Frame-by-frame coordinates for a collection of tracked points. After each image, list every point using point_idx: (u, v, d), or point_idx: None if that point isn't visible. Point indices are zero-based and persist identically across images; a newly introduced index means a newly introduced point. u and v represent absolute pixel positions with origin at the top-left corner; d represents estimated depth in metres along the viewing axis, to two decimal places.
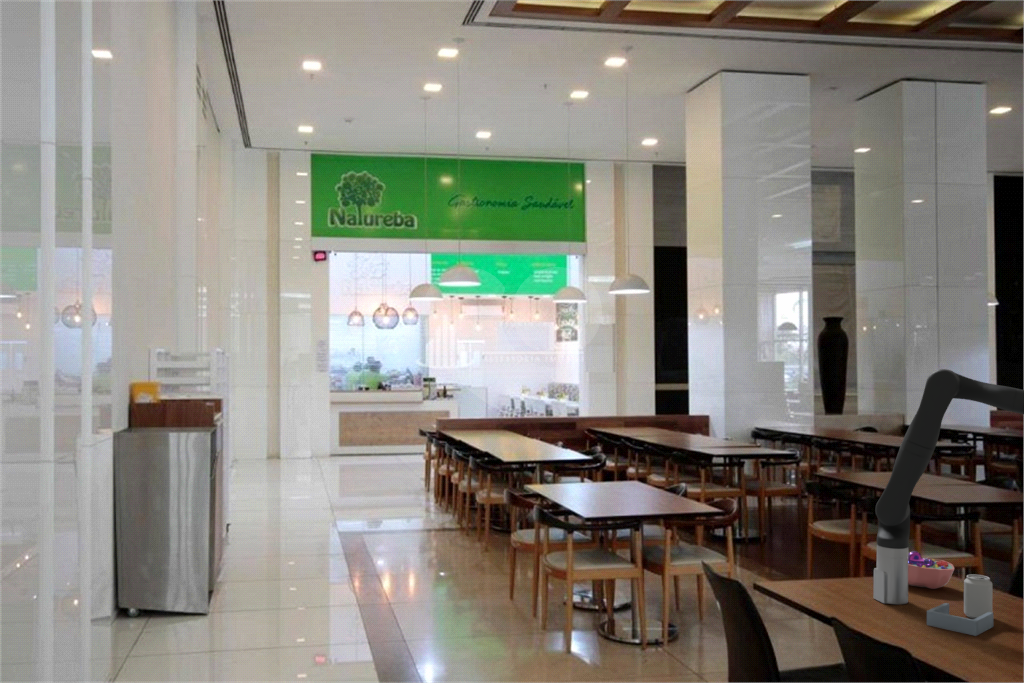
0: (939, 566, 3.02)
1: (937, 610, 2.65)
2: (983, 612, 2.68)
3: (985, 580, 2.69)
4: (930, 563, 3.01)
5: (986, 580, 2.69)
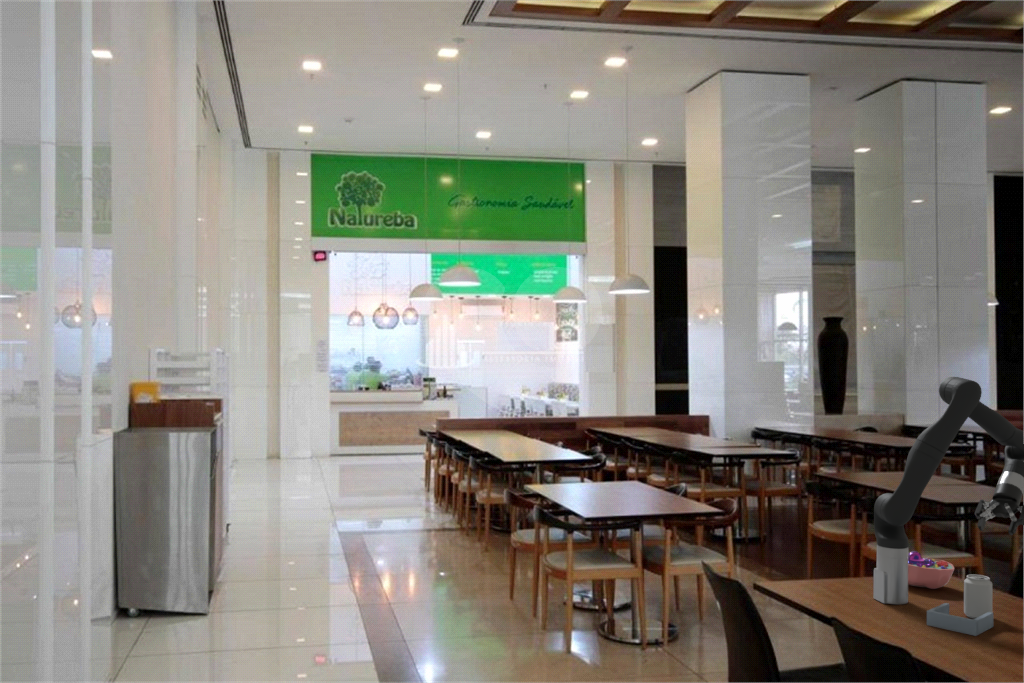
0: (939, 566, 3.02)
1: (937, 610, 2.65)
2: (983, 612, 2.68)
3: (985, 580, 2.69)
4: (930, 563, 3.01)
5: (986, 580, 2.69)
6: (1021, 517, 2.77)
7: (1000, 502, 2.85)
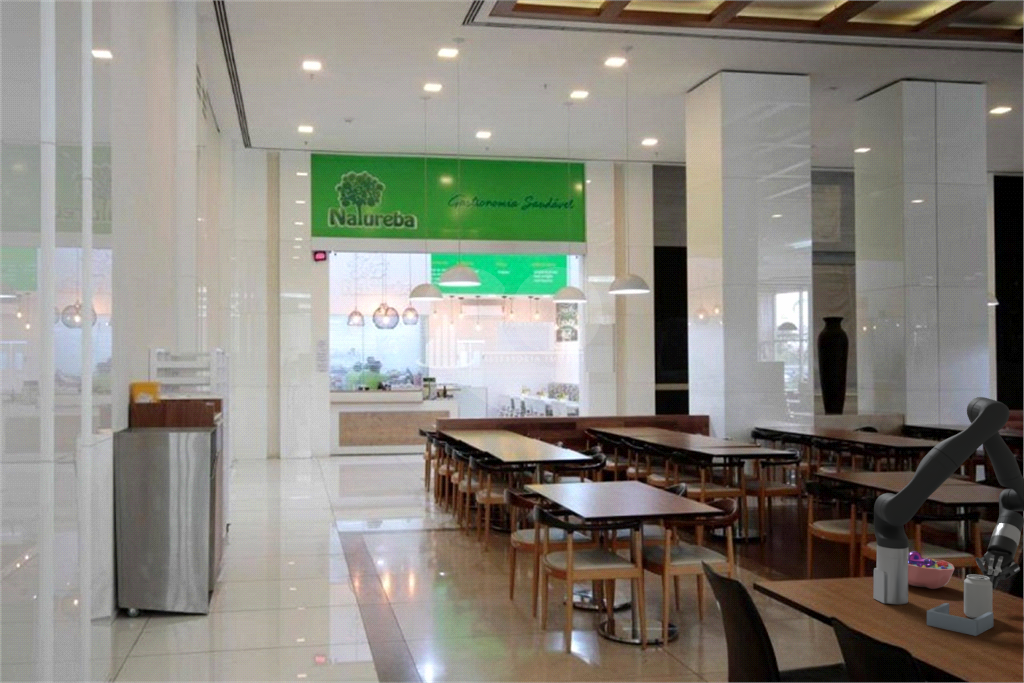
0: (939, 566, 3.02)
1: (937, 610, 2.65)
2: (983, 612, 2.68)
3: (985, 580, 2.69)
4: (930, 563, 3.01)
5: (986, 580, 2.69)
6: (1003, 572, 2.78)
7: (995, 554, 2.83)
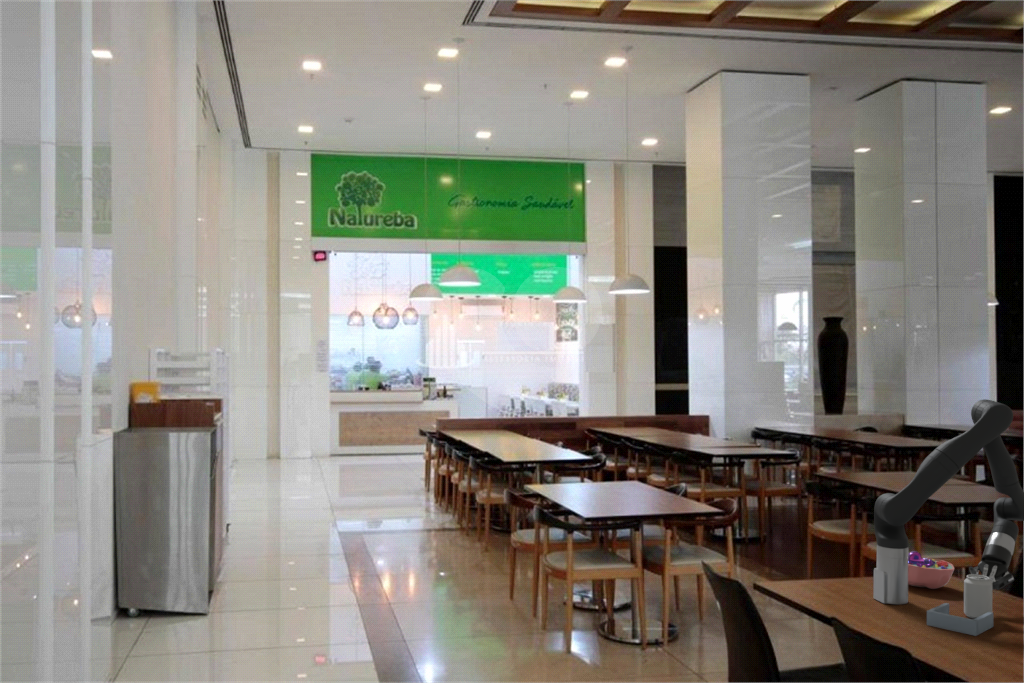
0: (939, 566, 3.02)
1: (937, 610, 2.65)
2: (983, 612, 2.68)
3: (985, 580, 2.69)
4: (930, 563, 3.01)
5: (986, 580, 2.69)
6: (997, 582, 2.75)
7: (989, 564, 2.80)
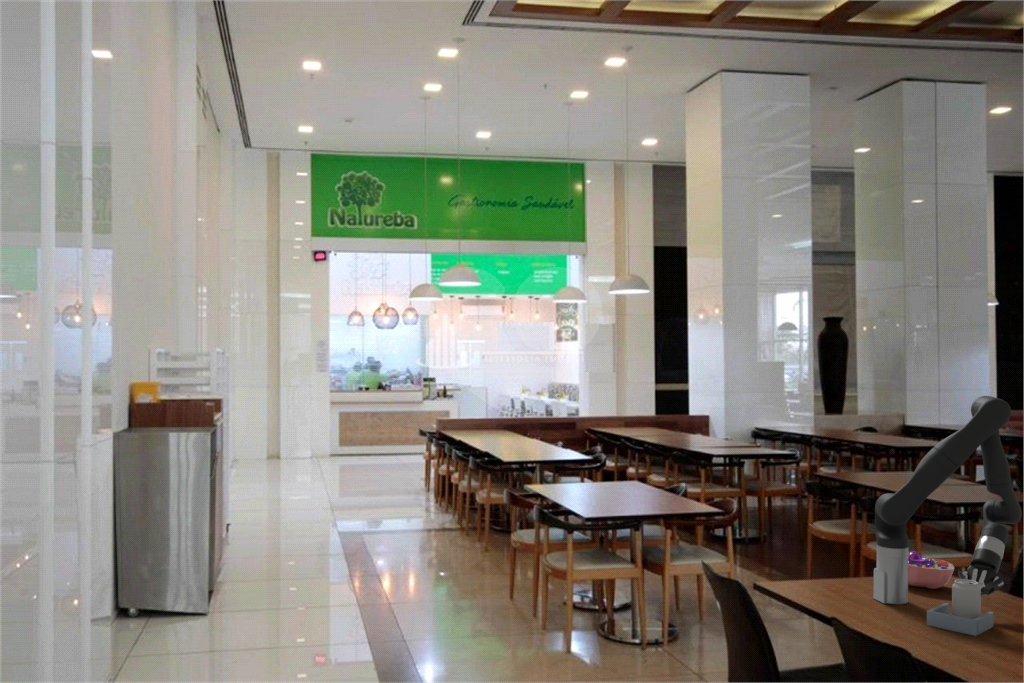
0: (939, 566, 3.02)
1: (937, 610, 2.65)
2: (970, 618, 2.62)
3: (972, 585, 2.63)
4: (930, 563, 3.01)
5: (974, 585, 2.63)
6: (986, 587, 2.68)
7: (978, 569, 2.74)
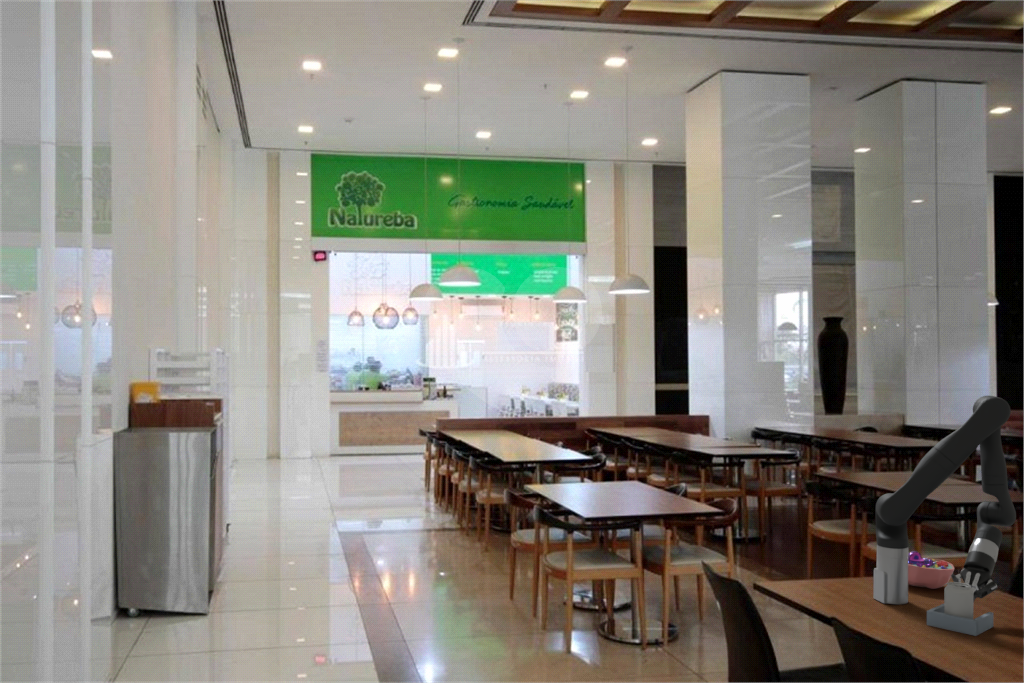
0: (939, 566, 3.02)
1: (937, 610, 2.65)
2: None
3: (964, 588, 2.59)
4: (930, 563, 3.01)
5: (966, 588, 2.59)
6: (979, 590, 2.65)
7: (972, 571, 2.70)
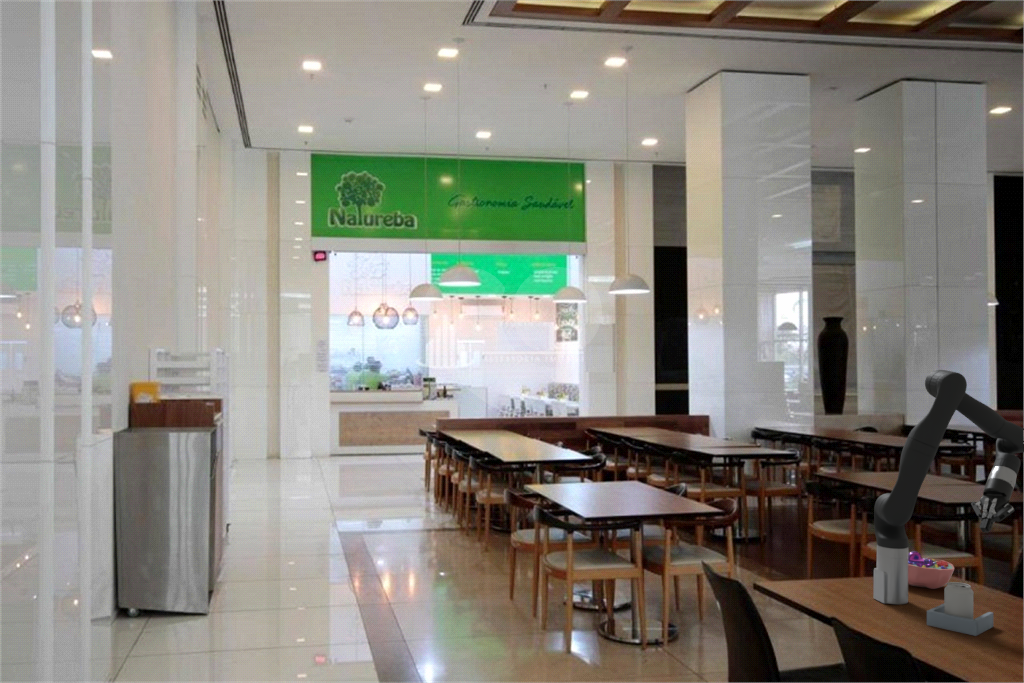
0: (939, 566, 3.02)
1: (937, 610, 2.65)
2: None
3: (964, 588, 2.59)
4: (930, 563, 3.01)
5: (966, 588, 2.59)
6: (996, 514, 2.78)
7: (990, 498, 2.84)
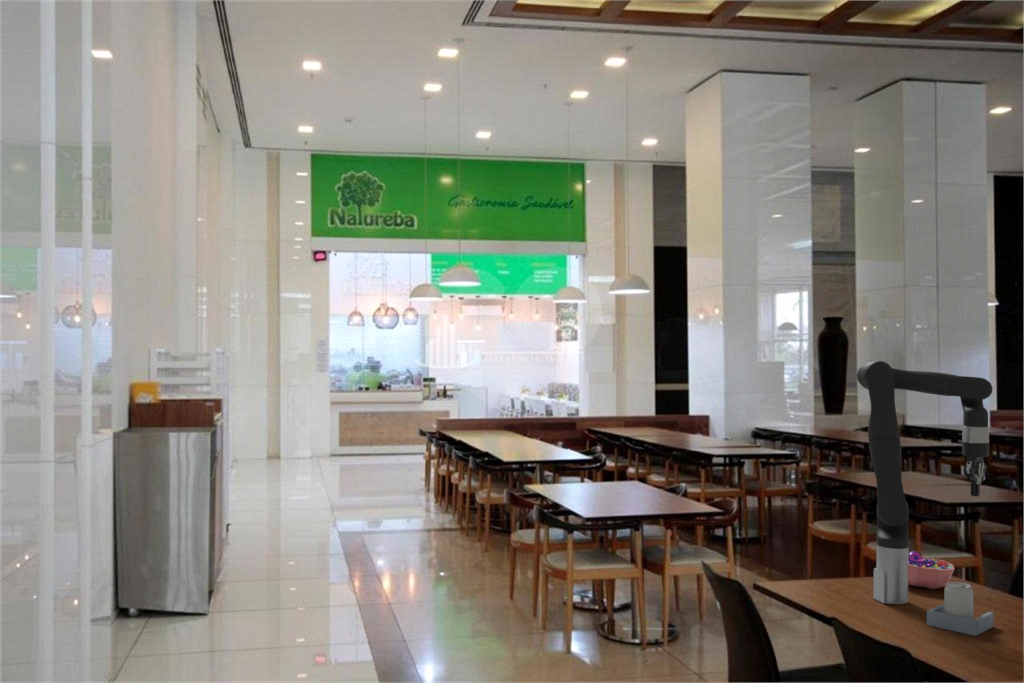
0: (939, 566, 3.02)
1: (937, 610, 2.65)
2: None
3: (964, 588, 2.59)
4: (930, 563, 3.01)
5: (966, 588, 2.59)
6: None
7: None
